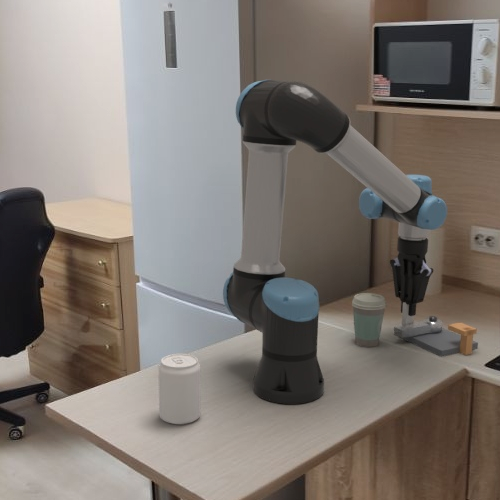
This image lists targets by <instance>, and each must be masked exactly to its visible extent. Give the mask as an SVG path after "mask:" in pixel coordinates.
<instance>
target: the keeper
mask: <svg viewBox="0 0 500 500" xmlns="http://www.w3.org/2000/svg"><path fill="white" fill-rule="evenodd" d="M447 330H449V331H451V332H454V333H456V334H459V335H461V343H460V352H459V353H460V354H462V355H464V356H467V355H472V354H473V349H472V344H473V341H474V335H476V334H477V331H478V330H477V328H476V327H474V326H471V325H468V324H465V323H464V322H455V323H451V324H448V325H447Z"/></svg>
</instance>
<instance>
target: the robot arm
mask: <svg viewBox="0 0 500 500" xmlns="http://www.w3.org/2000/svg"><path fill="white" fill-rule="evenodd" d="M235 118H236V120H237V123H238V124H239V125H240V127H241V128H242V129H243V133H242V143H243V145H244V146H245V147H246V149H248V161H247V171H246V172H247V173H246V184H245V185H246V187H245V188H246V189H245V201H244V213H243V214H244V215H243V228H242V241H241V252H240V253H241V255H240V259H238V260H237V261H236V262H235V263H234V264H233V268H232V273H230V274H229V277H228V278H226V280H225V282H224V285H223V289H222V297H223V298H222V299H223V303H224V305H225V308H226V309H227V311H228V312H229V313H230V314H231V315H232V316H233V317H234V318H236V319H237V320H238V321H239V322H241V323H243V324H247V325H248V326H249V327H252V328H253V329H255V330H256V331H259V332H260V333H262V334H261V335H262V337H261V339H262V341H261V343H262V348H261V349H262V351H261V357H260V360H259V363H258V366H257V368H256V371H255V374H254V377H253V388H252V389H253V392H254V394H255V395H256V396H258V397H259V398H261V399H263V400H266V401H268V402H271V403H276V404H282V405H296V404H297V405H298V404H299V405H300V404H306V403H310V402H313V401H316V400H318V399H320V398H321V397H322V396H323V394H324V392H325V391H324V390H325V380H324V377H323V373H322V370H321V366H320V363H319V360H318V333H319V312H320V301H319V292H318V291H317V288H315V287H314V285H312V284H311V283H309V282H307V281H305V280H302V279H295V278H292V277H286V276H285V275H286V267H285V266H284V265H283V264H282V262H281V261H280V259H281V258H280V256H281V244H282V233H283V223H284V222H283V221H284V209H285V200H286V199H285V196H286V187H287V172H288V163H289V162H288V160H289V153H290V152H292V151H293V150H294V149H295V148H296V147H297V142H301V143H302V144H305V145H306V146H309V147H310V148H311V149H313V150H314V151H315V152H317V153H318V154H322V155H323V154H327V156H329V157H330V158H331V159H332V160H334V161H335V162H336V163H337V165H338V164H339V166H340V167H342V168H343V169H344V170H346V171H347V172H348V173H349V174H350V175H351V176H353V177H354V178H355V179H356V180H357V181H359V182H360V183H361V184H362V185H364V186H365V187H366V188H364V189H363V190H362V192H361V193H360V194H359V198H358V208H359V211H360V213H361V214H362V217H365V218H366V219H371V220H372V219H373V220H378V219H387V220H391V221H395V222H398V227H397V235H398V237H397V244H396V245H397V247H396V250H397V252H398V254H397V257H396V258H393V259H390V260H389V264H390V266H391V269H392V278H393V286H394V295H395V297H396V298H399V300H400V301H401V302H400V313H401V325H405V324H410V323H414V319H415V318H414V317H415V315H416V313H417V312H416V311H417V304H420V303H423V302H424V300H425V299H424V298H425V295H426V292H427V289H428V285H429V281H430V277H431V276H432V274H433V273H434V268H432V267H431V268H429V266H428V265H427V259H426V254H427V253H428V251H429V250H428V248H429V239H428V237H429V235H430V234H429V233H430V231H433V230H437V229H440V228H441V227H442V225H443V224H444V223H445V221H446V219H447V217H448V207H447V203H446V202H445V201H444V200H443V199H442V198H440V197H438V196H436V195H433V182H432V178H431V177H430V176H428V175H424V174H405V172H403V171H402V170H401V169H399V167H397V166H396V165H395V164H394V163H393V162H392V161H391V160H390V159H389V158H387V156H385V155H384V154H383V153H382V152H380V150H379V149H377V147H376V146H374V145H373V144H372V143H371V142H370V141H369V140H367V139H366V138H365V137H364V136H363V135H362V134H361V133H360V132H359V131H358V130H356V129H355V128H354V127H353V126H352V125H351V118H350V117H349V115H348V114H346V113H345V111H343V110H342V109H341V108H340V107H339V106H337V105H336V104H335V103H334V102H333V101H332V100H330V99H329V98H328V97H327V95H326V96H325V95H324V94H323V93H322V92H320V91H319V90H318V89H316V88H315V87H313V86H311V85H309V84H307V83H304V82H302V81H293V80H292V81H291V80H290V81H289V80H287V81H286V80H274V79H264V80H258V81H255V82H252V83H250V84H248V85H247V86H245V88H244V89H242V91H241V92H240V94H239V95H238V99H237V101H236V104H235Z"/></svg>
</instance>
